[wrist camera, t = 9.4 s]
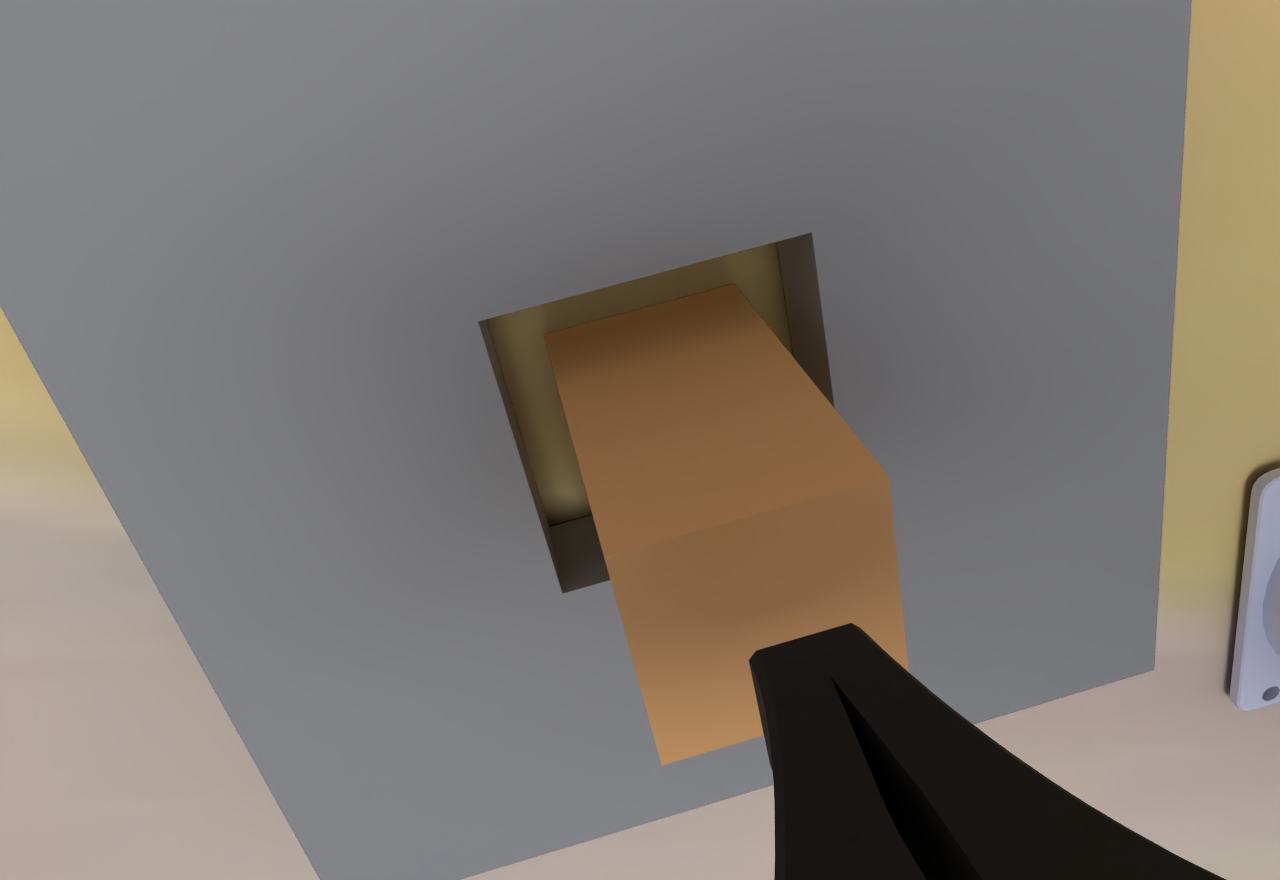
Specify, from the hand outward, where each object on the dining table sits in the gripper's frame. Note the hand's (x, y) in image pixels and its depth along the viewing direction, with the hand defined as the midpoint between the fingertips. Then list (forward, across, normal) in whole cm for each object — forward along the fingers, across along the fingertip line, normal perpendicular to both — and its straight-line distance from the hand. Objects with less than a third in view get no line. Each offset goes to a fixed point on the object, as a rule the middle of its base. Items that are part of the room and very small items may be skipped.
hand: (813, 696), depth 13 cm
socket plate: (+10, 0, 0) cm, 10 cm away
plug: (+10, 0, +1) cm, 10 cm away
